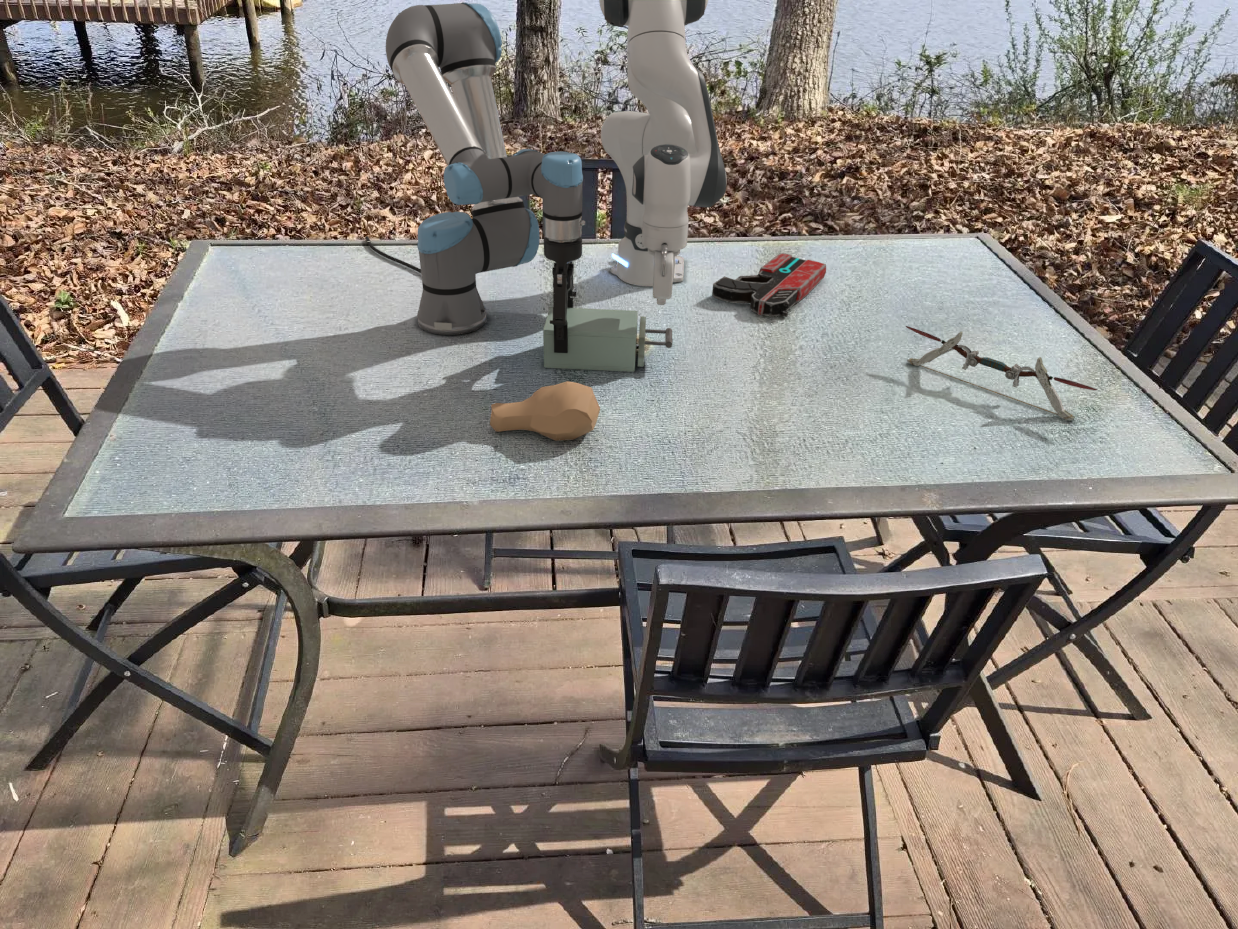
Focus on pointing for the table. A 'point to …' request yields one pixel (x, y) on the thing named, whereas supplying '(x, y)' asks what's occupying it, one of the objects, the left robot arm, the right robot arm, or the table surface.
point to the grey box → (594, 340)
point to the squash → (550, 412)
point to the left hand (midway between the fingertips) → (564, 339)
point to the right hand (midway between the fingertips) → (661, 302)
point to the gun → (772, 285)
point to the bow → (1010, 372)
